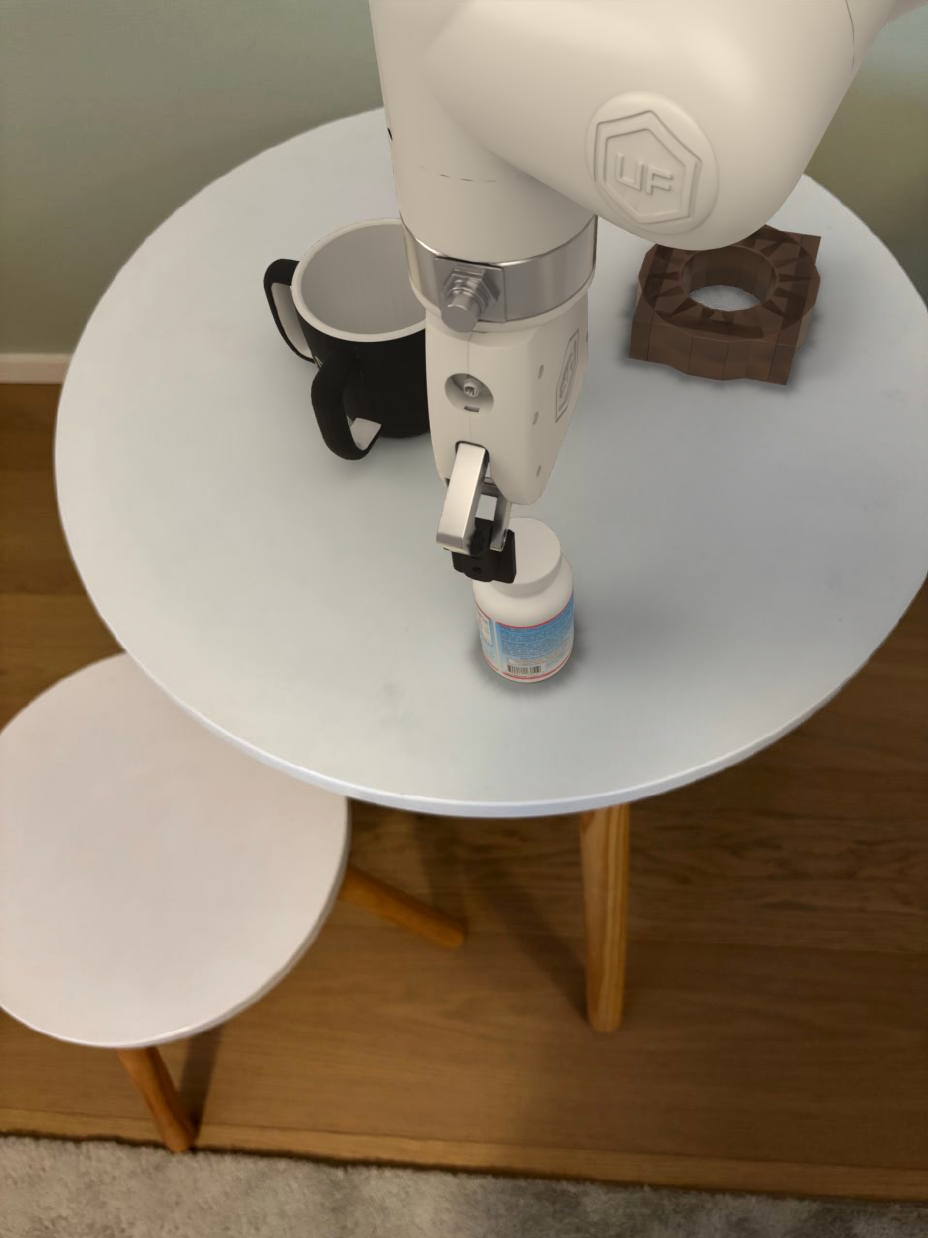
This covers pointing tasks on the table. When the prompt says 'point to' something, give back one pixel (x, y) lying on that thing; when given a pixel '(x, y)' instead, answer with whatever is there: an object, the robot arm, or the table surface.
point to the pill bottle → (529, 608)
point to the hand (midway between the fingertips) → (512, 498)
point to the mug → (356, 334)
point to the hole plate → (728, 338)
